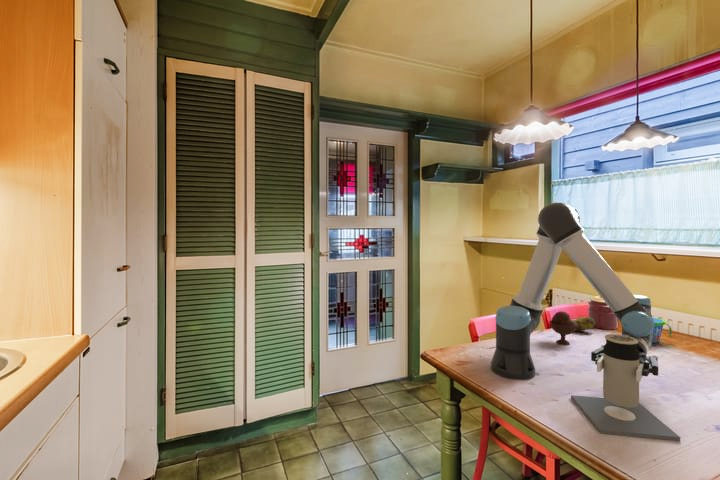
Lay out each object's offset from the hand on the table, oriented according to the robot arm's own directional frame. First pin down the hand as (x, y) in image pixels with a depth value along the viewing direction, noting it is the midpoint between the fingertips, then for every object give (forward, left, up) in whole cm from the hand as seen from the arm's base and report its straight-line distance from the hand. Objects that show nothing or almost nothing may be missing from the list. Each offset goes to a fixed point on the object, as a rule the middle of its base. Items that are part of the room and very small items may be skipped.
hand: (617, 371), depth 90 cm
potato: (+26, +86, -15) cm, 91 cm away
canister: (+41, +98, -15) cm, 107 cm away
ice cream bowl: (+11, +66, -15) cm, 68 cm away
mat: (+3, +4, -15) cm, 16 cm away
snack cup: (+51, +76, -15) cm, 93 cm away
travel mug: (+3, +4, -10) cm, 11 cm away
